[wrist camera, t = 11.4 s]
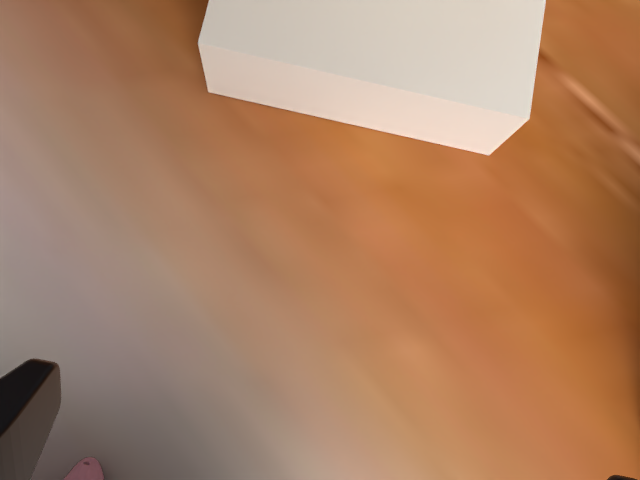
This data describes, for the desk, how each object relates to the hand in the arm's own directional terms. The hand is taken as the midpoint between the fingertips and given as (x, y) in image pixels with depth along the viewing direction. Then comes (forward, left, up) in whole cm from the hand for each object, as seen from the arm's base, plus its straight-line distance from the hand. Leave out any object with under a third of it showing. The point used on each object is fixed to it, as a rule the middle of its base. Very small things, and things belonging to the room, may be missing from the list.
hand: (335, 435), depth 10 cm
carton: (+10, +12, -14) cm, 21 cm away
